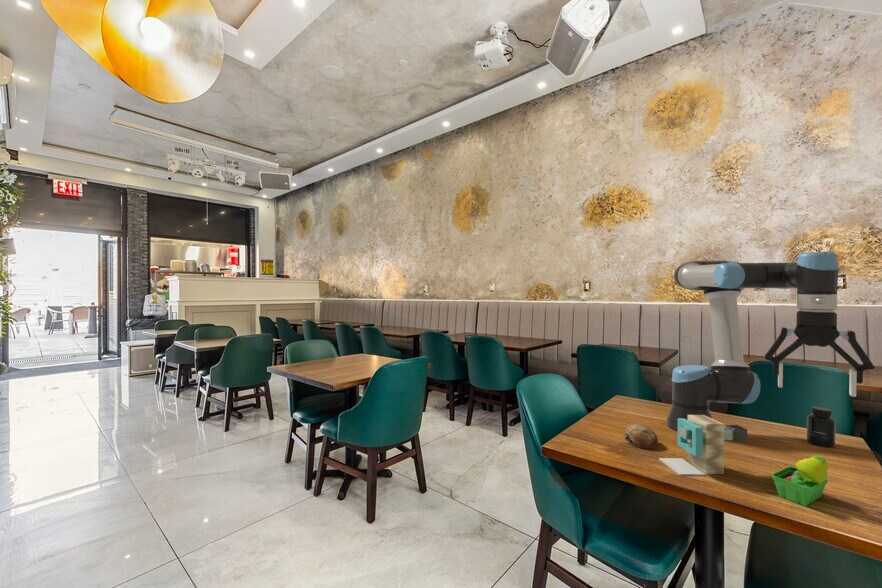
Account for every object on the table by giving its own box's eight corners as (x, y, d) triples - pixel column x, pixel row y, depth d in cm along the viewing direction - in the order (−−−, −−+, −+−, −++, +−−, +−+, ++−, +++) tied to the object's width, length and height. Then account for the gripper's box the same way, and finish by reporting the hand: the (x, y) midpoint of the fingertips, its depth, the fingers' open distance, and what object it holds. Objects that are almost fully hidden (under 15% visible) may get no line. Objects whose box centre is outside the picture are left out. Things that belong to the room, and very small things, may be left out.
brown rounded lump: (621, 449, 130) (614, 429, 128) (641, 433, 133) (634, 414, 132) (646, 461, 121) (639, 440, 119) (667, 443, 124) (659, 423, 123)
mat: (658, 459, 113) (658, 458, 113) (681, 459, 113) (681, 458, 113) (679, 475, 103) (679, 473, 103) (705, 475, 103) (705, 474, 103)
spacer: (677, 444, 112) (677, 418, 112) (684, 444, 112) (684, 418, 112) (695, 456, 104) (695, 427, 104) (702, 456, 104) (702, 427, 104)
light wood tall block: (706, 473, 104) (706, 424, 104) (687, 461, 112) (687, 414, 112) (723, 474, 104) (724, 424, 104) (703, 461, 112) (704, 414, 112)
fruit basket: (789, 484, 99) (790, 442, 99) (836, 500, 91) (837, 454, 91) (769, 495, 93) (770, 450, 94) (817, 513, 86) (818, 464, 86)
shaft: (686, 441, 107) (686, 428, 107) (678, 436, 110) (678, 424, 110) (747, 441, 106) (747, 429, 106) (737, 437, 110) (737, 424, 110)
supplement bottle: (815, 446, 124) (815, 410, 124) (801, 439, 130) (801, 404, 130) (841, 449, 122) (841, 412, 122) (826, 441, 128) (826, 406, 128)
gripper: (755, 309, 103) (753, 385, 103) (893, 313, 87) (891, 403, 88) (754, 308, 109) (752, 380, 109) (883, 312, 93) (882, 396, 94)
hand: (814, 391), depth 98 cm, fingers open, 13 cm apart
